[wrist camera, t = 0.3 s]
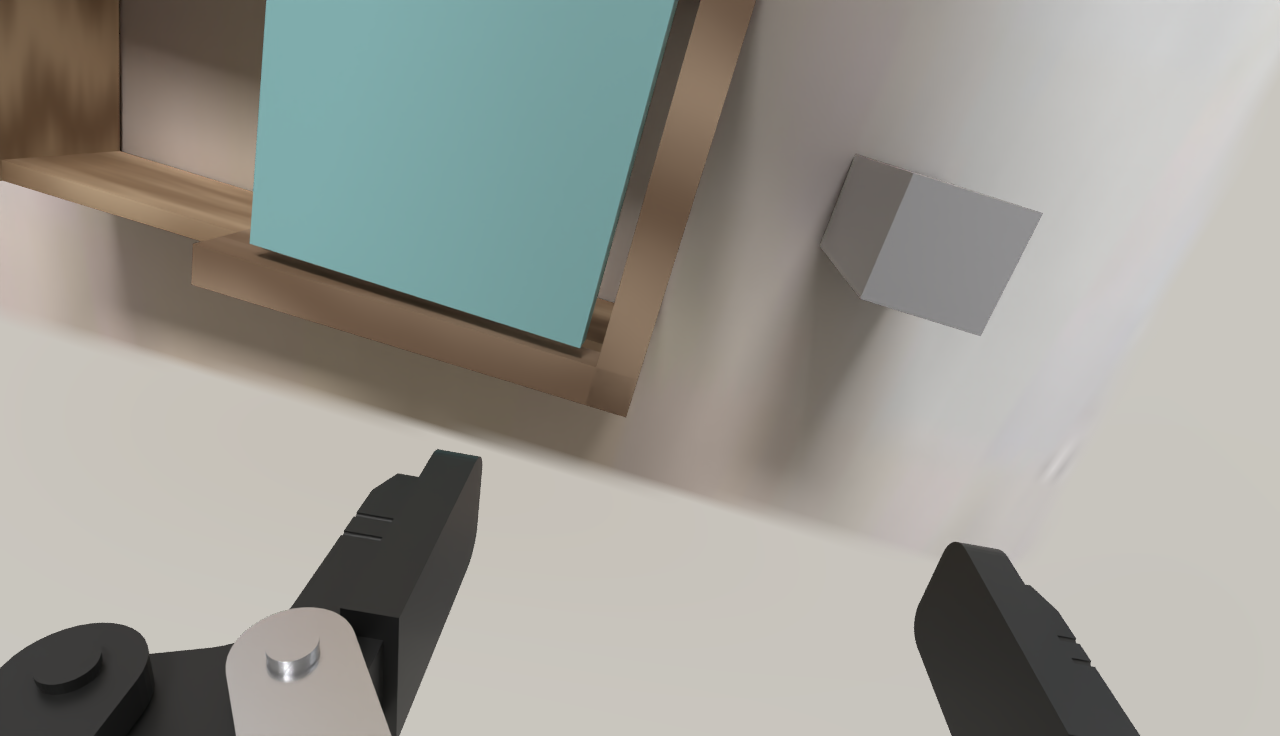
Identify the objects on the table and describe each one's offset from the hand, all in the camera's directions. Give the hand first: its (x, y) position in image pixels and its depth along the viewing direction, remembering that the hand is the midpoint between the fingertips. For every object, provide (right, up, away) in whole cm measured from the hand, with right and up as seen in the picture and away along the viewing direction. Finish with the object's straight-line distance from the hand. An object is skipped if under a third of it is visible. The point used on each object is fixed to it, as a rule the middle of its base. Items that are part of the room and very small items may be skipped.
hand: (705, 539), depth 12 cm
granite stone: (+12, +11, +25) cm, 29 cm away
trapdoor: (-7, +11, +11) cm, 17 cm away
